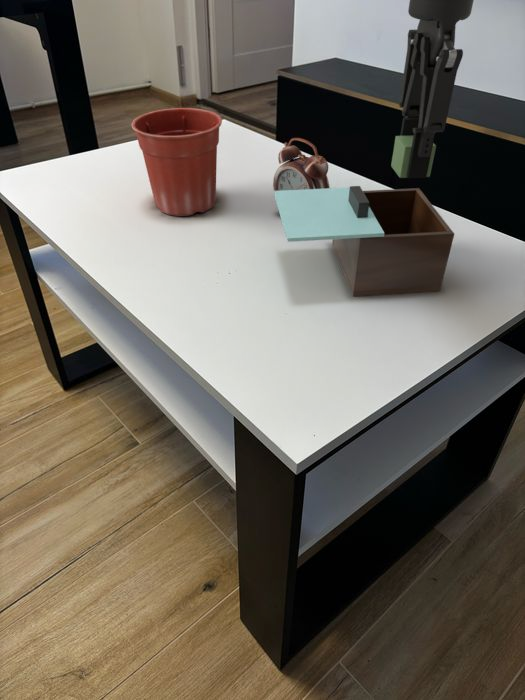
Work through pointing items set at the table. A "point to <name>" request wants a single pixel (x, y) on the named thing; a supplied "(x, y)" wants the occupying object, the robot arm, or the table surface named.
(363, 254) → the case
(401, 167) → the block
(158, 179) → the flower pot
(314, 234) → the light blue board
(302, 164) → the alarm clock
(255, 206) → the table surface
